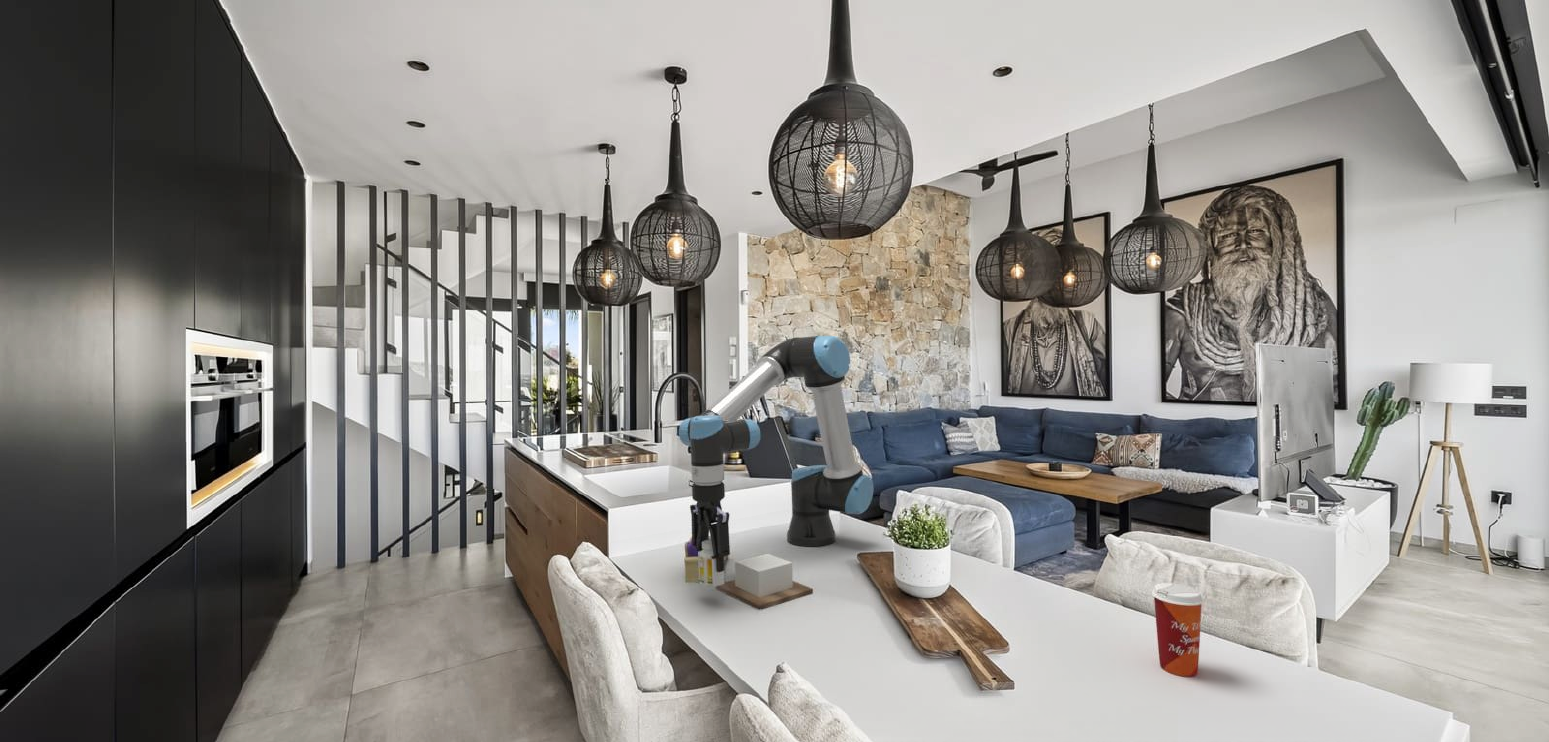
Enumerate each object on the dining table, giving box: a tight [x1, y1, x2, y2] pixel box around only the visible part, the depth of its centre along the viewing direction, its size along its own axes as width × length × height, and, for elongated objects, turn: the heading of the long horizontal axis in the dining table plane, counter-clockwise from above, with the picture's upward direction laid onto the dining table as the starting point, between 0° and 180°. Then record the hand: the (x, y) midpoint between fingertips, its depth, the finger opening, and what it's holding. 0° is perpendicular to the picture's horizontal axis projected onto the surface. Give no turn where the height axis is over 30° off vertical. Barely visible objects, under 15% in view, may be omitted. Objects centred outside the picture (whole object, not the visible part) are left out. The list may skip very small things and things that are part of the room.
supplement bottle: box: [699, 540, 714, 587], centre depth 146 cm, size 5×5×10 cm
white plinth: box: [734, 553, 794, 597], centre depth 153 cm, size 10×10×6 cm
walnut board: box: [715, 579, 814, 611], centre depth 153 cm, size 16×18×1 cm
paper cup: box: [1151, 582, 1205, 678], centre depth 110 cm, size 8×8×14 cm
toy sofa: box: [684, 535, 729, 583], centre depth 170 cm, size 21×9×10 cm, turn 176°
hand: (711, 581), depth 146 cm, fingers closed on supplement bottle, 5 cm apart
